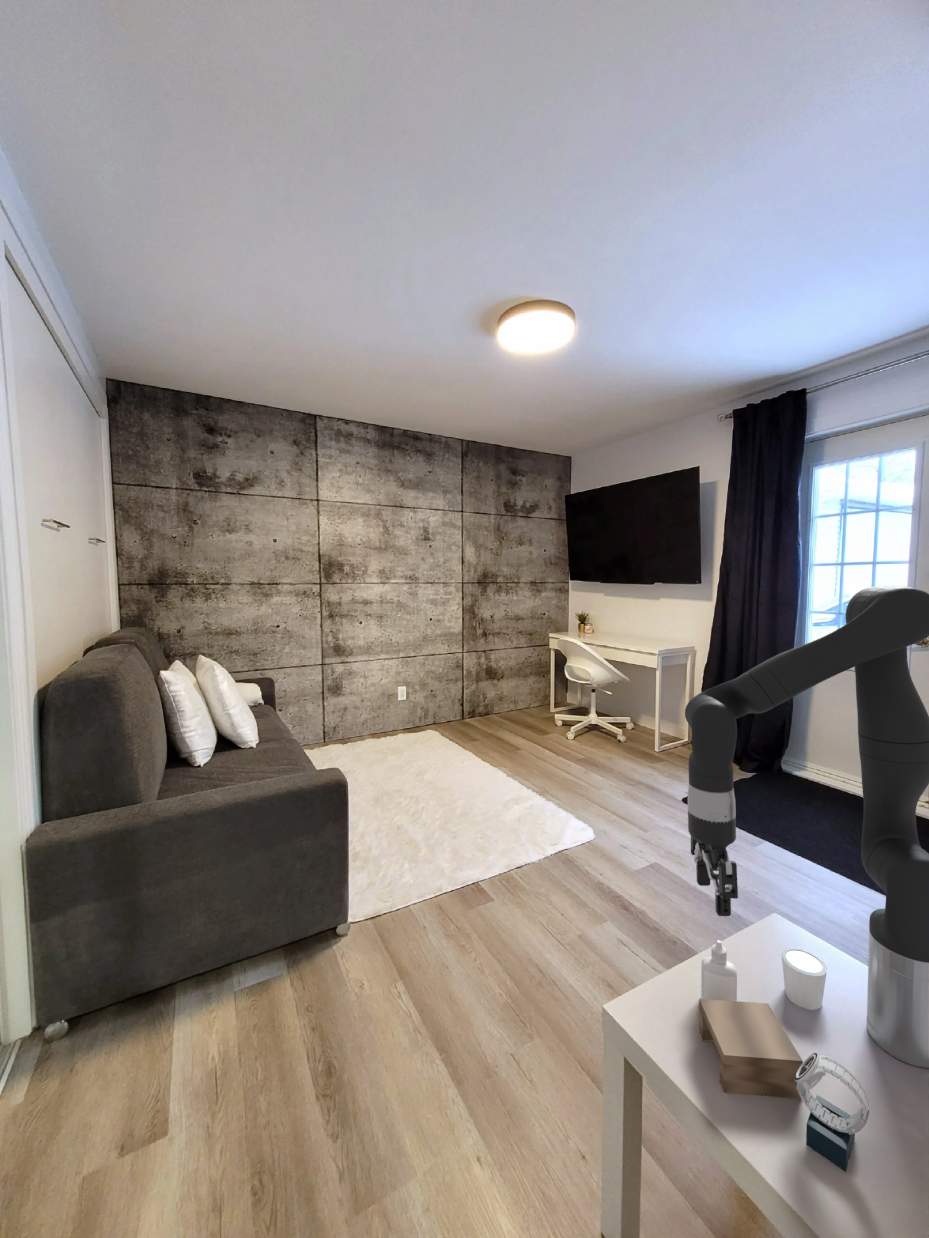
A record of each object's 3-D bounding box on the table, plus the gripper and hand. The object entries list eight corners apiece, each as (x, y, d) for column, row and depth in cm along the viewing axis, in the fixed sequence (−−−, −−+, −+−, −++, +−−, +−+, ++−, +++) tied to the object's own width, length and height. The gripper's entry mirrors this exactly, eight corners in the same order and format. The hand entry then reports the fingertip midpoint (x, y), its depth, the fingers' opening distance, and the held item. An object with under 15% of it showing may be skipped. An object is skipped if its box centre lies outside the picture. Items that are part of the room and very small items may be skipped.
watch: (800, 1104, 71) (801, 1033, 71) (871, 1150, 65) (873, 1072, 65) (789, 1133, 67) (790, 1058, 67) (863, 1185, 62) (865, 1103, 61)
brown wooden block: (767, 1037, 82) (768, 1003, 81) (802, 1099, 72) (802, 1060, 72) (699, 1032, 83) (699, 998, 83) (723, 1092, 73) (724, 1054, 73)
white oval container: (811, 982, 93) (812, 947, 92) (835, 1014, 86) (836, 976, 85) (773, 980, 93) (774, 946, 93) (794, 1011, 87) (794, 974, 86)
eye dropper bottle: (730, 1022, 85) (730, 956, 84) (697, 1001, 89) (697, 939, 88) (739, 1007, 88) (740, 943, 87) (707, 988, 92) (708, 927, 91)
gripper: (753, 829, 78) (754, 927, 79) (716, 793, 92) (718, 875, 93) (704, 829, 79) (706, 925, 80) (675, 793, 93) (677, 875, 94)
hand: (712, 898), depth 87 cm, fingers open, 8 cm apart
